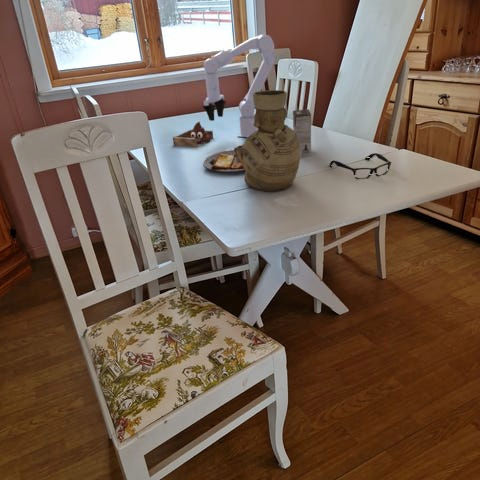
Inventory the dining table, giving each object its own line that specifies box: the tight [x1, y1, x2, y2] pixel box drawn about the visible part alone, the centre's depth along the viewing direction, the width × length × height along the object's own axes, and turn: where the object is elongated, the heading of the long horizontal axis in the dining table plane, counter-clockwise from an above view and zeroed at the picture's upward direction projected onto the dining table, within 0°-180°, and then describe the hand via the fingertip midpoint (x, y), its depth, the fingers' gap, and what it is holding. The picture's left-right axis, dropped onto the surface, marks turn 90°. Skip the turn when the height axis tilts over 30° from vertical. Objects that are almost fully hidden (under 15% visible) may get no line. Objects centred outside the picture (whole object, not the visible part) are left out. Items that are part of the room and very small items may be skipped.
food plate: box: [202, 149, 245, 173], centre depth 162 cm, size 25×23×4 cm
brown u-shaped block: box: [172, 129, 214, 148], centre depth 197 cm, size 13×15×4 cm
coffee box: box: [292, 109, 312, 157], centre depth 164 cm, size 9×6×16 cm
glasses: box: [329, 152, 392, 180], centre depth 145 cm, size 17×18×5 cm
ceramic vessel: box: [233, 89, 301, 193], centre depth 133 cm, size 19×21×30 cm
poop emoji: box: [189, 121, 211, 144], centre depth 194 cm, size 10×8×9 cm
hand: (216, 118), depth 194 cm, fingers open, 7 cm apart
